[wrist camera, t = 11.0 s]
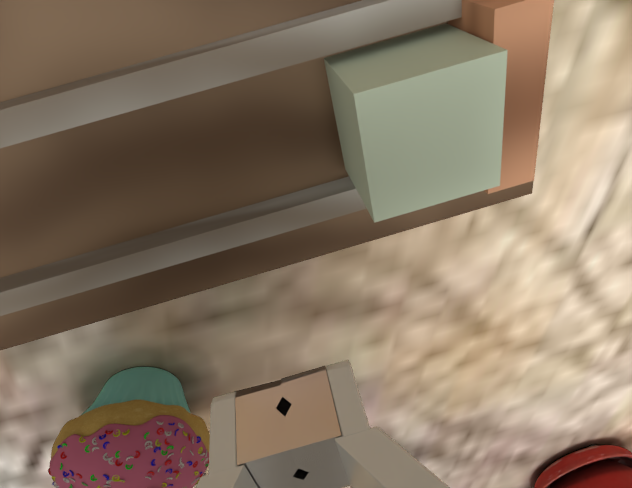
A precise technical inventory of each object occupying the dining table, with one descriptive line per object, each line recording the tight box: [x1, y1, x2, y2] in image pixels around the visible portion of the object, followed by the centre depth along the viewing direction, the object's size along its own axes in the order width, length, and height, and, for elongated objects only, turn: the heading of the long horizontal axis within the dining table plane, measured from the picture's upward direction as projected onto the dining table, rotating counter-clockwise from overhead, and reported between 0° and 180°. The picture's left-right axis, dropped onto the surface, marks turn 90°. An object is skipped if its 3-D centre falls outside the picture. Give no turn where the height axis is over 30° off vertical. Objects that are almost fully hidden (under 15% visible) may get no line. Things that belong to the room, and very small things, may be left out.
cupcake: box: [48, 367, 210, 488], centre depth 24 cm, size 9×8×12 cm
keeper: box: [324, 23, 508, 223], centre depth 17 cm, size 5×5×4 cm
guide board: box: [0, 0, 554, 350], centre depth 18 cm, size 14×30×5 cm, turn 102°
